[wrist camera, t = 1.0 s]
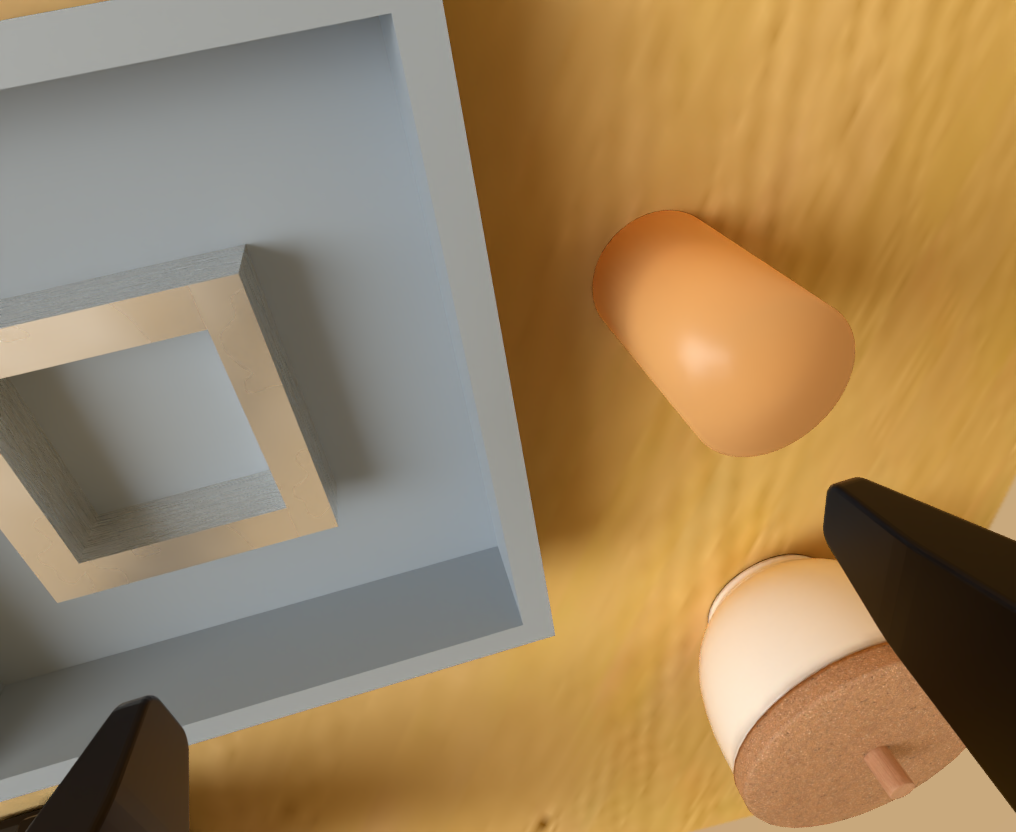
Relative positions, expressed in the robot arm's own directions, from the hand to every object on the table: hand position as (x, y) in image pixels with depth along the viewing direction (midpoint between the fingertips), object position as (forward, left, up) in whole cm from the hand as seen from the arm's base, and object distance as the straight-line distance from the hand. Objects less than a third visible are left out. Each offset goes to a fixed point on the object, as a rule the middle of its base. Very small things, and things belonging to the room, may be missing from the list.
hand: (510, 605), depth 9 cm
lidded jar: (-21, -13, -14) cm, 28 cm away
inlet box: (-3, +8, -14) cm, 16 cm away
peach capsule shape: (-3, -8, -14) cm, 16 cm away
